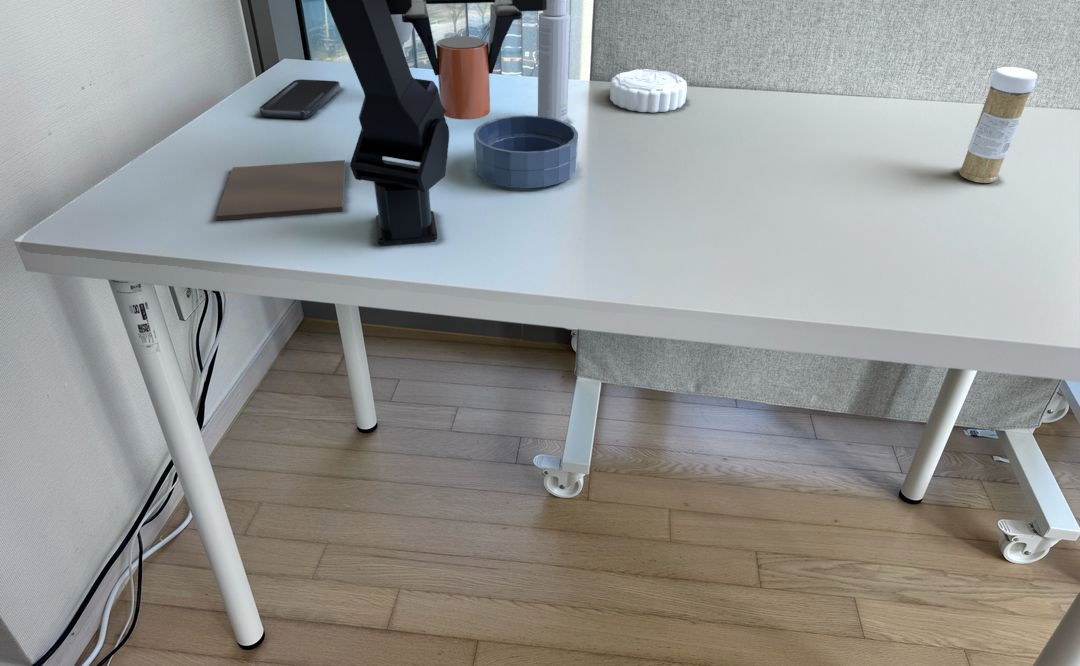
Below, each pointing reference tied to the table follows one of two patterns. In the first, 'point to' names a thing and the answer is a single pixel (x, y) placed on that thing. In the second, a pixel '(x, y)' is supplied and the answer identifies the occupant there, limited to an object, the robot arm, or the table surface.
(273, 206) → the coaster board
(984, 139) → the sprinkles bottle
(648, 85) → the mooncake
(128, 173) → the table surface
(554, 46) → the bottle
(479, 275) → the table surface
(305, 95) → the phone
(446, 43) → the cup
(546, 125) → the bowl
